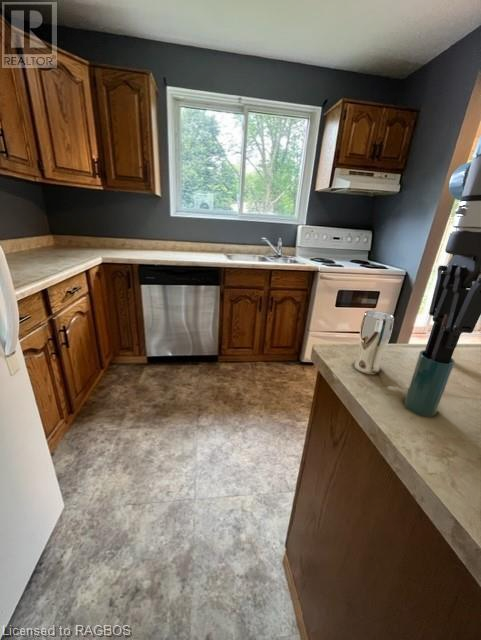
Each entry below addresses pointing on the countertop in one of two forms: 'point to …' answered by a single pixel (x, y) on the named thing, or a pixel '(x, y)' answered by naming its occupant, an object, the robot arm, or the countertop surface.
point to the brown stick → (440, 332)
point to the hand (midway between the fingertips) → (436, 357)
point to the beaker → (427, 385)
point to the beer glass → (373, 340)
